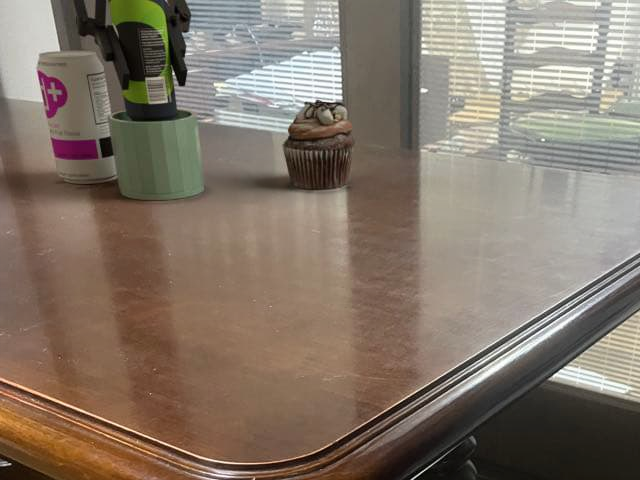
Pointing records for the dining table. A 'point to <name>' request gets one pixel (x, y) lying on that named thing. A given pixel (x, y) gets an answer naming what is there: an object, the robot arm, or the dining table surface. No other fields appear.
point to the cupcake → (319, 146)
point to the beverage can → (145, 59)
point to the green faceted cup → (157, 156)
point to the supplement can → (77, 115)
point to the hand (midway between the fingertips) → (154, 79)
